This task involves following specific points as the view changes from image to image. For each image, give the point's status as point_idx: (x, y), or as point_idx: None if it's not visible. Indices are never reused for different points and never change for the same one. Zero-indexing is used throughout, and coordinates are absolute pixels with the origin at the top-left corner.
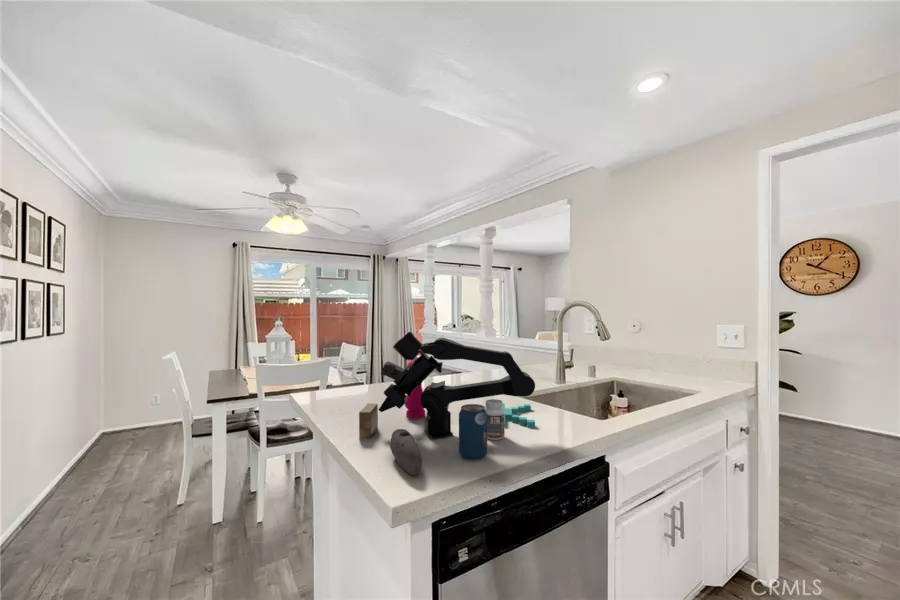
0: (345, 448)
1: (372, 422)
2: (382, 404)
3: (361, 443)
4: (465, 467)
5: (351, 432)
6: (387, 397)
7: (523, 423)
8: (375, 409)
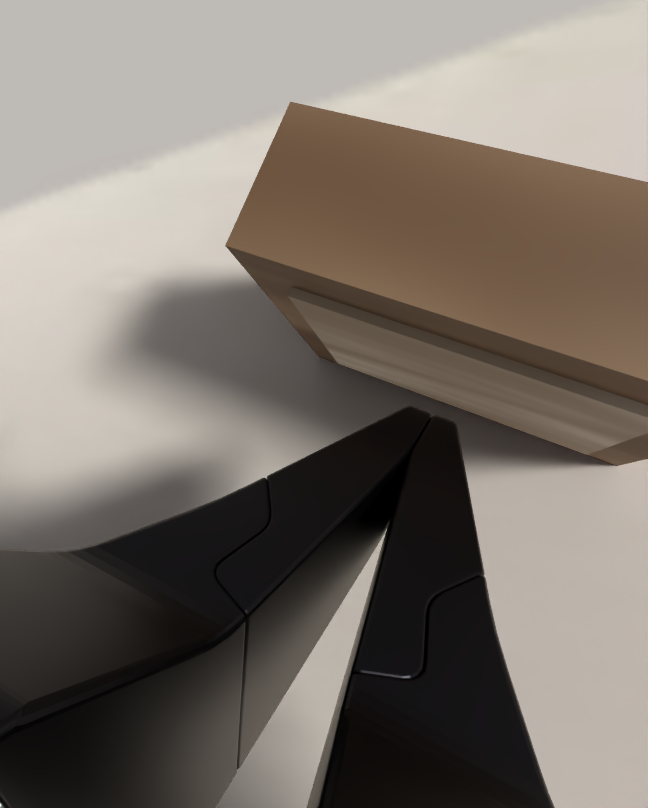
0: (198, 175)
1: (355, 347)
2: (329, 452)
3: (249, 285)
4: None
5: None
6: (122, 548)
7: None
8: (569, 377)
